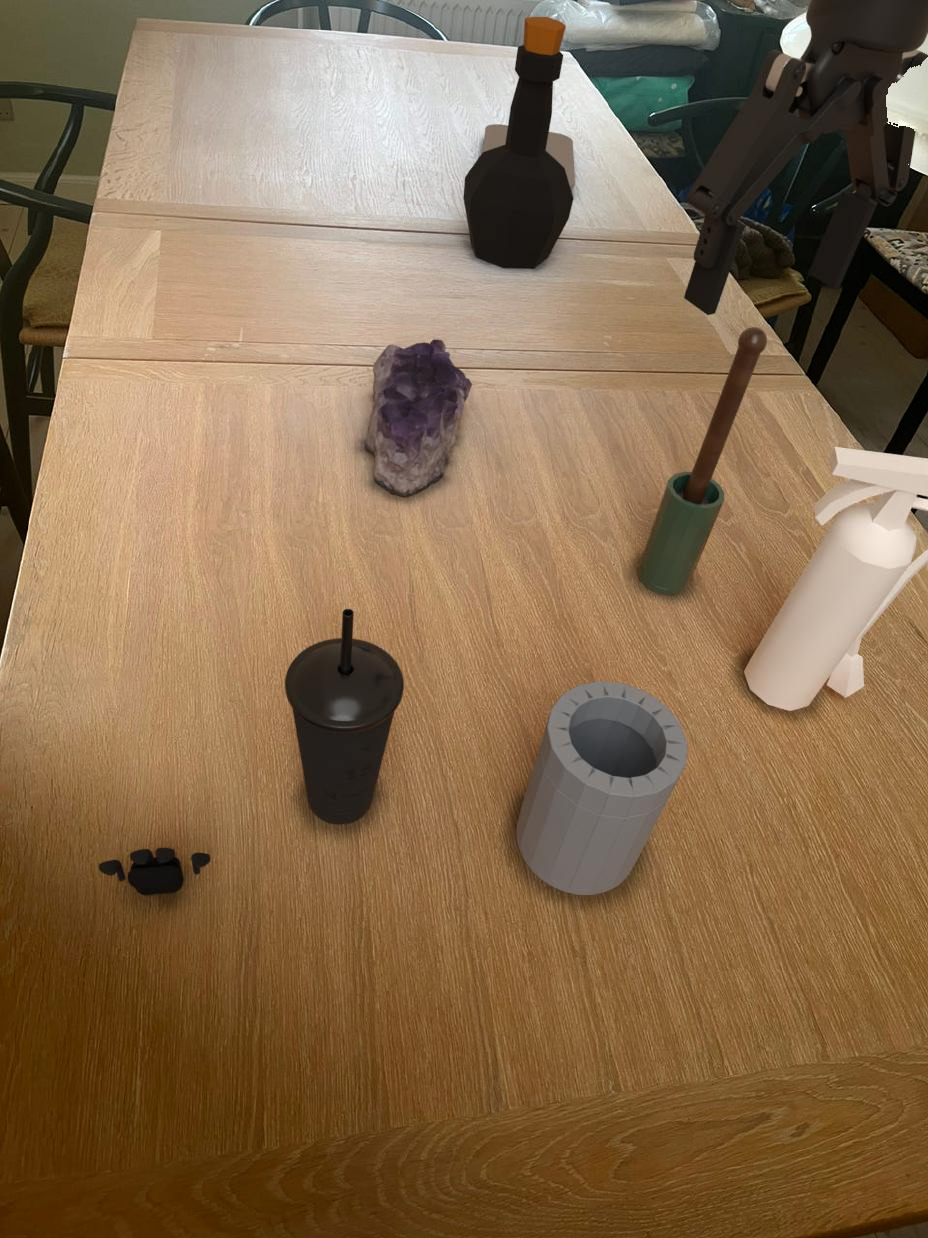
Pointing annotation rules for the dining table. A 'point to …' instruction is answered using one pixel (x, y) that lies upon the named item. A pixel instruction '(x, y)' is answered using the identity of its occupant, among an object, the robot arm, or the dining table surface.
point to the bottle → (522, 165)
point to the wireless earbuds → (154, 870)
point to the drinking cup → (343, 720)
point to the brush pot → (678, 537)
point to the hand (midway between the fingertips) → (763, 292)
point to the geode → (414, 415)
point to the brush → (724, 414)
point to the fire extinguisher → (843, 580)
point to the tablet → (555, 147)
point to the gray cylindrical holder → (598, 786)
